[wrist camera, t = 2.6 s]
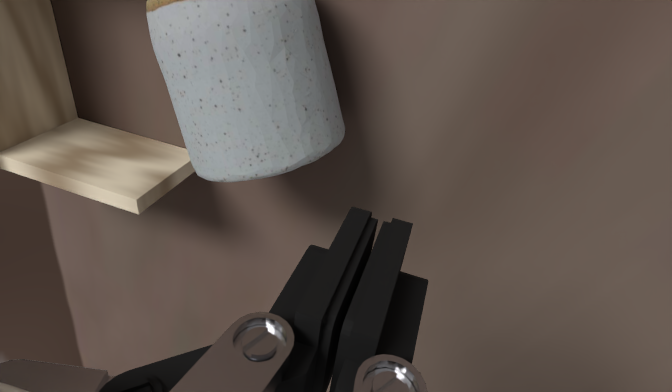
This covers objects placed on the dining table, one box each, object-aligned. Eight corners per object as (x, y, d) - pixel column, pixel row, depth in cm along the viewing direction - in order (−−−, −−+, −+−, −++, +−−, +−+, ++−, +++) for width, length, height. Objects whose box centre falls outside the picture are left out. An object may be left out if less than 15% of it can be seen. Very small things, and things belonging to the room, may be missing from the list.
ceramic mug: (328, -54, 20) (239, -44, 14) (366, 117, 23) (309, 187, 17) (155, -1, 24) (30, 25, 18) (209, 136, 28) (120, 197, 22)
